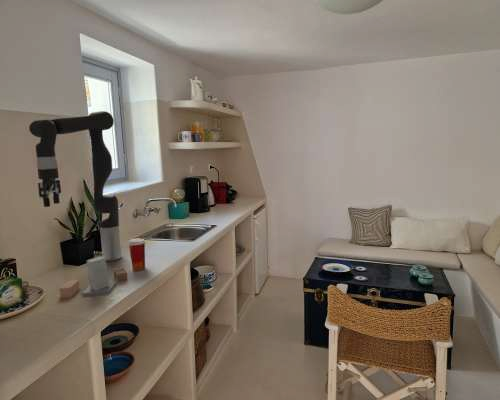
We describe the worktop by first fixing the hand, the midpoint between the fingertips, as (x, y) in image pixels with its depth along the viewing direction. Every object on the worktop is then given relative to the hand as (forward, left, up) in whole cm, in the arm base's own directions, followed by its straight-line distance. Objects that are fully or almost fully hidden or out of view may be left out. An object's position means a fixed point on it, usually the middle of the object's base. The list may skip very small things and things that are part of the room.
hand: (52, 205), depth 148 cm
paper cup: (-6, +33, -33) cm, 47 cm away
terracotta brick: (+18, +12, -33) cm, 40 cm away
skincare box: (+17, +23, -32) cm, 43 cm away
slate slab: (+17, +23, -34) cm, 44 cm away
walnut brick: (+6, +28, -33) cm, 44 cm away
